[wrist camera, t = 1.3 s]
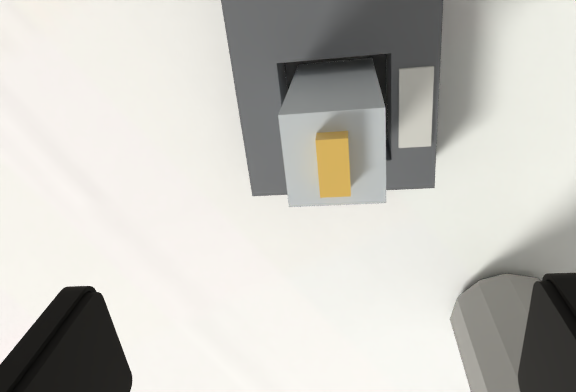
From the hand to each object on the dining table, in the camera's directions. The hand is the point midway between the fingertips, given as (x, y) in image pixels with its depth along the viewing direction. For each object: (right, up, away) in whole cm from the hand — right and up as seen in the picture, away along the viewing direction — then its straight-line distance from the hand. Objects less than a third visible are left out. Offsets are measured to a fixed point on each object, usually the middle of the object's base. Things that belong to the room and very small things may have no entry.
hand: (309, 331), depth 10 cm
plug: (+2, +9, +16) cm, 18 cm away
